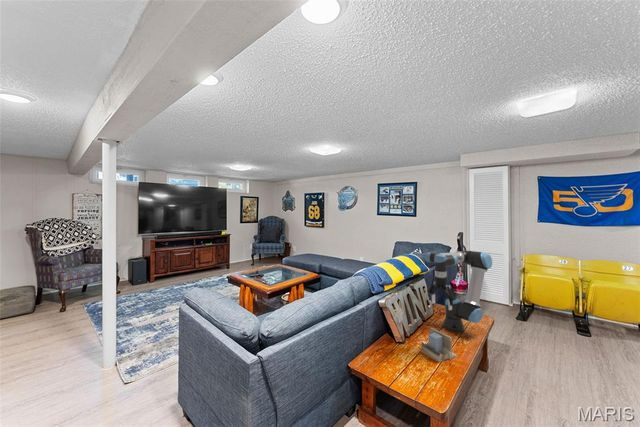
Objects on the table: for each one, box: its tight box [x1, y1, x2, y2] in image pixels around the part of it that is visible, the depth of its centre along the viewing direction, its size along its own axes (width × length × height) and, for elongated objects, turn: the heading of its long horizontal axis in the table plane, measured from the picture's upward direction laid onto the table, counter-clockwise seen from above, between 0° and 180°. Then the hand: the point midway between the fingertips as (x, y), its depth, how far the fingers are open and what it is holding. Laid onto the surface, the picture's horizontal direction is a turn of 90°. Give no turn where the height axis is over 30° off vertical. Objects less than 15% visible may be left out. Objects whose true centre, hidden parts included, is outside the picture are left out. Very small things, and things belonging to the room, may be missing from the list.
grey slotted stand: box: [421, 327, 458, 363], centre depth 171 cm, size 16×16×14 cm
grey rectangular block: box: [428, 333, 443, 351], centre depth 170 cm, size 6×6×9 cm
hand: (441, 306), depth 180 cm, fingers open, 13 cm apart
